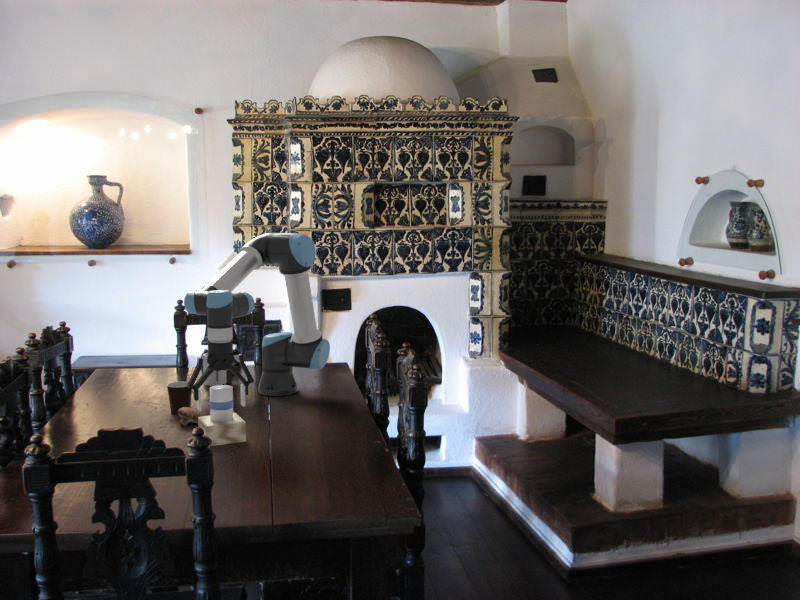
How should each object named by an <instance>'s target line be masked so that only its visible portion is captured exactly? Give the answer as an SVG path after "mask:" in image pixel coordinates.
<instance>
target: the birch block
mask: <svg viewBox="0 0 800 600" xmlns="http://www.w3.org/2000/svg"><path fill="white" fill-rule="evenodd" d="M198 427H200V428H202V429H203V430H204V435H205V436H207V437H209V438H210V439H211V440H212V444H211V446H210V447H215V446H222V445H229V444H237V443H244V442H247V424H246V421H245V420H244V419H243V418H242V417H241V416H240V415H239V414H238V413H237V412H233V420H231V421H228V422H213V421H211V420H210V414H209V415H202V416H200V417H198V423H197V428H198Z"/></svg>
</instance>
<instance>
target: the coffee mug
mask: <svg viewBox="0 0 800 600" xmlns="http://www.w3.org/2000/svg"><path fill="white" fill-rule="evenodd" d="M188 382H189V381H174V382H168V383H167V385H166V388H167V394H168V401H169V407H170V413H171V414H172V415H178V410H179V409H180V408H182V407H190V408H191V404H192V393H193V389H189V388H188V387H187V384H188ZM178 416H179V415H178Z"/></svg>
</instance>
